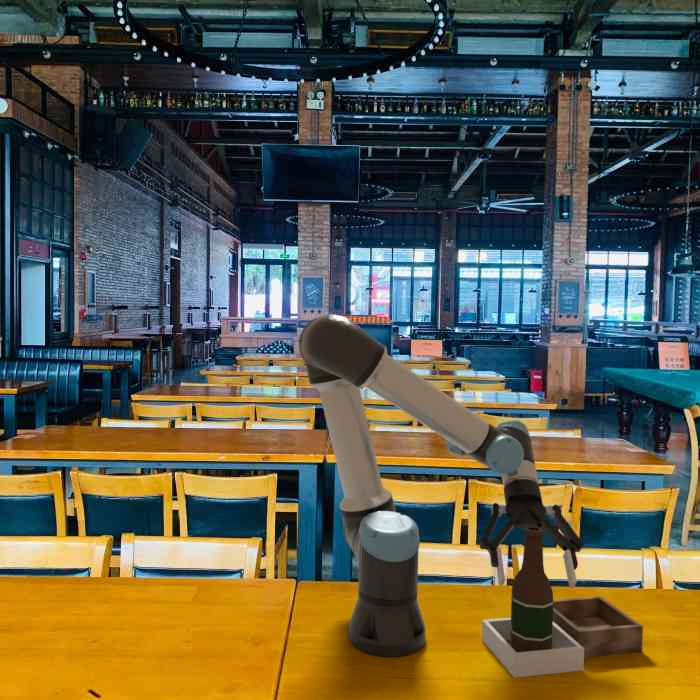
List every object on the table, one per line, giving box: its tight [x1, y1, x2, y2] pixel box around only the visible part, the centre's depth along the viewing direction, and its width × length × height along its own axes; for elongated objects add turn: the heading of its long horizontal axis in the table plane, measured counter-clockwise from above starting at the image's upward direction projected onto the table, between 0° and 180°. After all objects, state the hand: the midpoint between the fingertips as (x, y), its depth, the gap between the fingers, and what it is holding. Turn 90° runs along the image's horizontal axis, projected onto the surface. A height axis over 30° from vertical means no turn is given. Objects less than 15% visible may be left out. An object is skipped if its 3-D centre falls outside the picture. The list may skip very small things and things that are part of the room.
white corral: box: [481, 617, 585, 679], centre depth 118 cm, size 14×14×4 cm
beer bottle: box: [509, 526, 554, 652], centre depth 118 cm, size 8×8×24 cm
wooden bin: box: [553, 596, 644, 659], centre depth 125 cm, size 14×14×5 cm
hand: (537, 584), depth 121 cm, fingers open, 13 cm apart
